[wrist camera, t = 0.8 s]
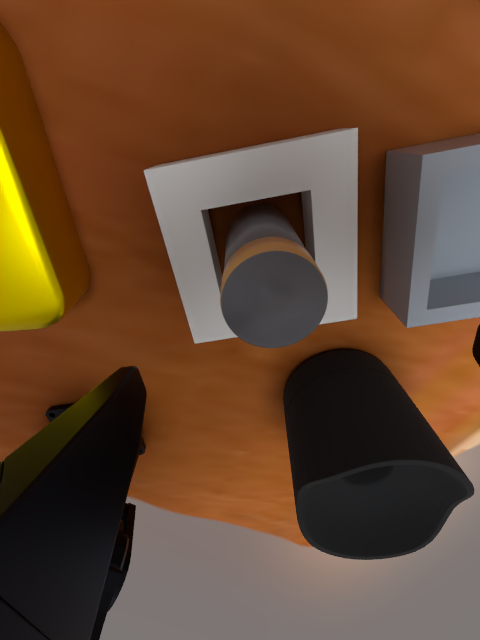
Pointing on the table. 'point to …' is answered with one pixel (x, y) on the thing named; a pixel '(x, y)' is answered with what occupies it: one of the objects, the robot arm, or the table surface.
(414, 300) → the square tray
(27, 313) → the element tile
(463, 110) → the table surface
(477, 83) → the table surface
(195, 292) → the square frame
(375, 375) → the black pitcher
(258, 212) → the battery cell
